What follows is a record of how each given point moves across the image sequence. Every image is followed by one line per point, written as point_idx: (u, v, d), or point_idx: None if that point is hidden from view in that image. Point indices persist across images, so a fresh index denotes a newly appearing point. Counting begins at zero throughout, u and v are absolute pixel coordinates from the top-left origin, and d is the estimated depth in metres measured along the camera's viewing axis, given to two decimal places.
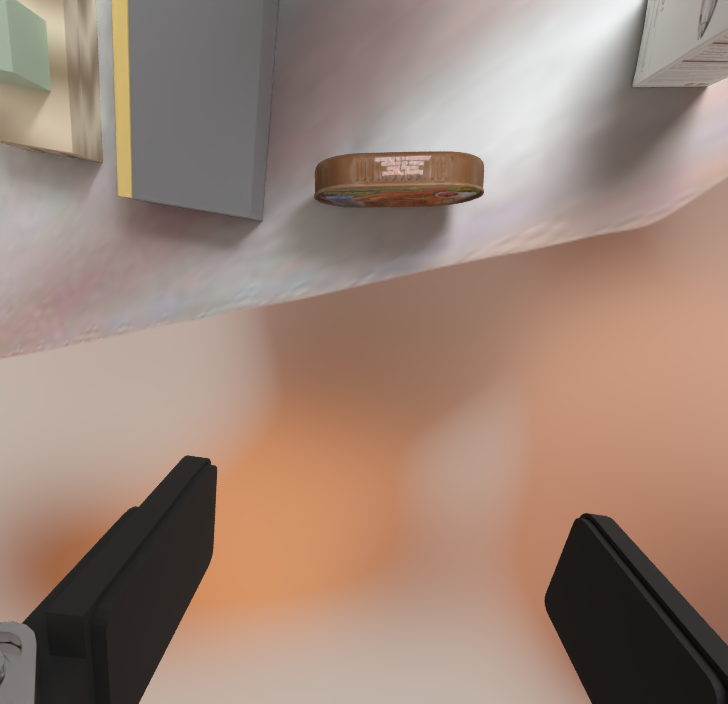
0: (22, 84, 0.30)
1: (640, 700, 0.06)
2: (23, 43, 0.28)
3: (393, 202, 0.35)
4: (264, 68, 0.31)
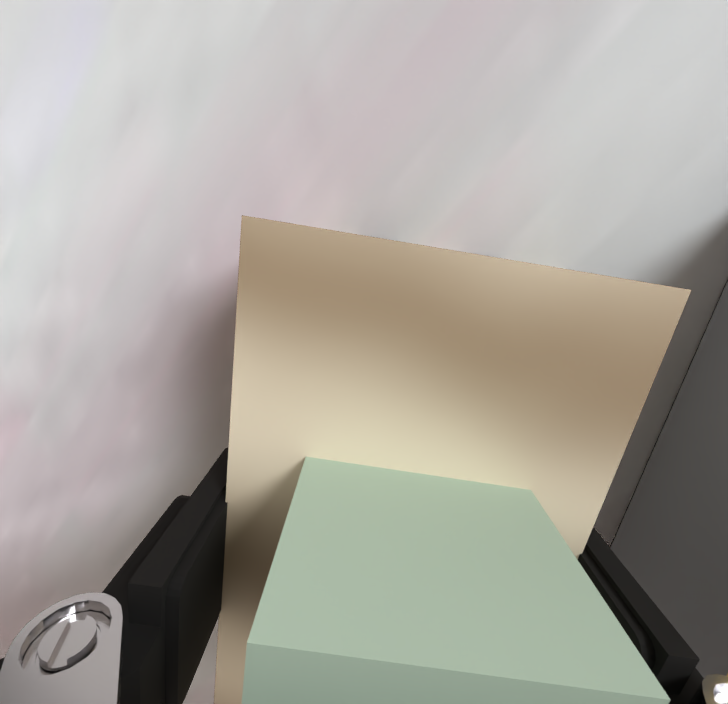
0: None
1: None
2: None
3: None
4: None
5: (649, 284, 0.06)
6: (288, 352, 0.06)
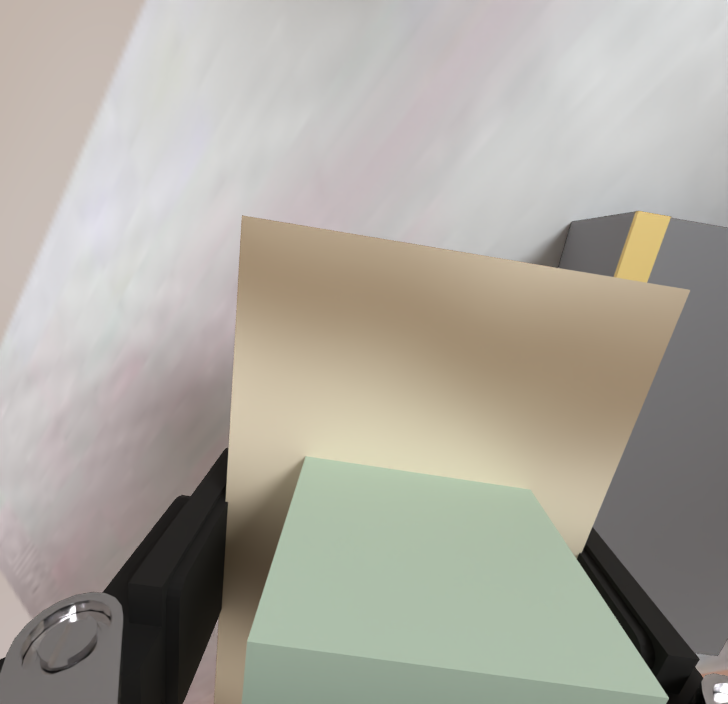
0: None
1: None
2: None
3: None
4: None
5: (648, 284, 0.06)
6: (287, 352, 0.06)
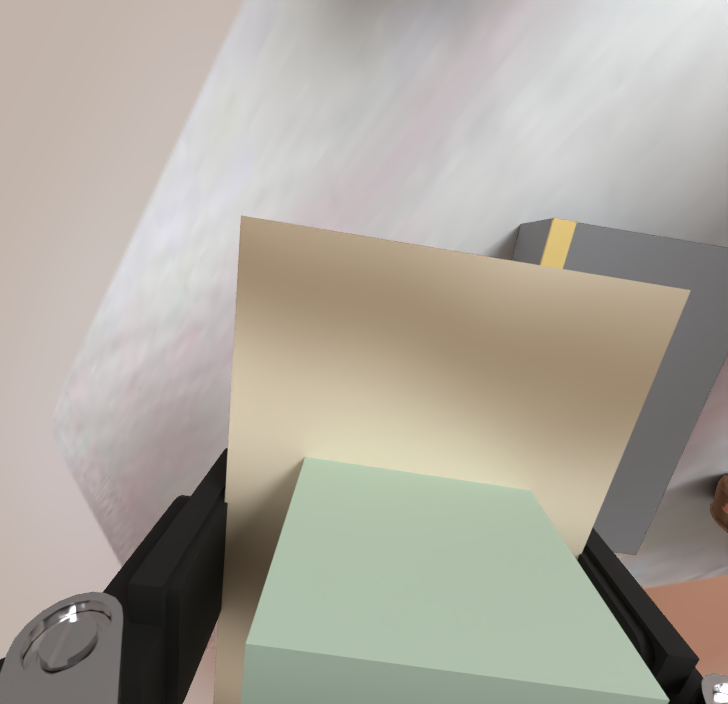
0: None
1: None
2: None
3: None
4: None
5: (648, 284, 0.06)
6: (287, 352, 0.06)
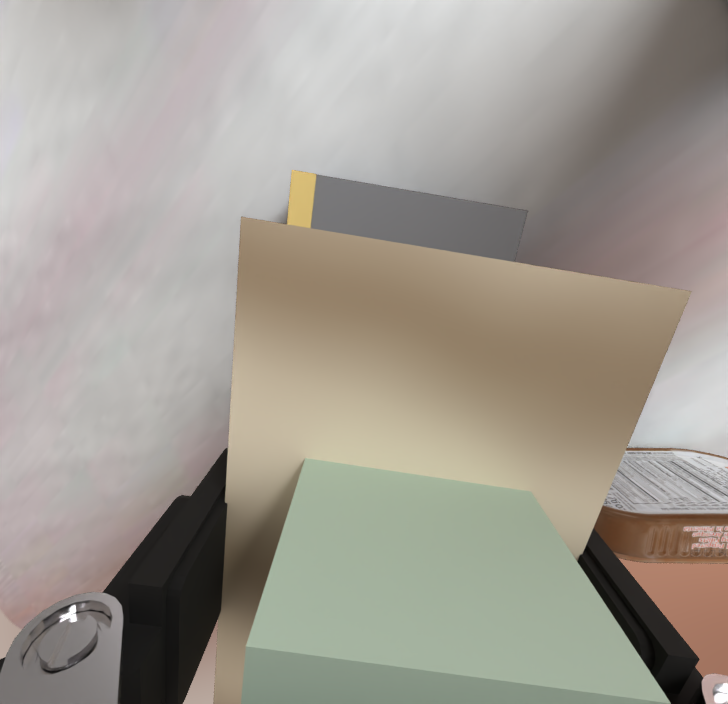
0: None
1: None
2: None
3: None
4: None
5: (649, 285, 0.06)
6: (287, 353, 0.06)
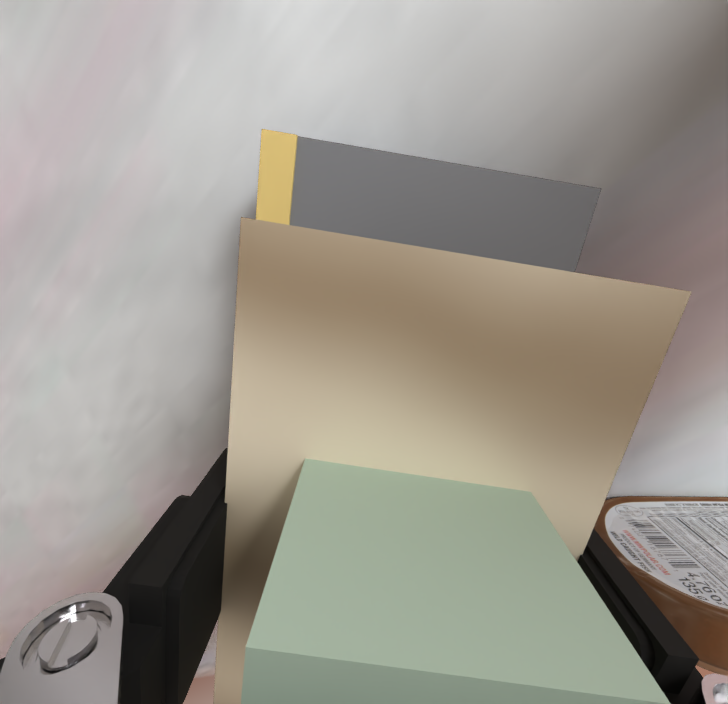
0: None
1: None
2: None
3: None
4: None
5: (649, 286, 0.06)
6: (287, 353, 0.06)
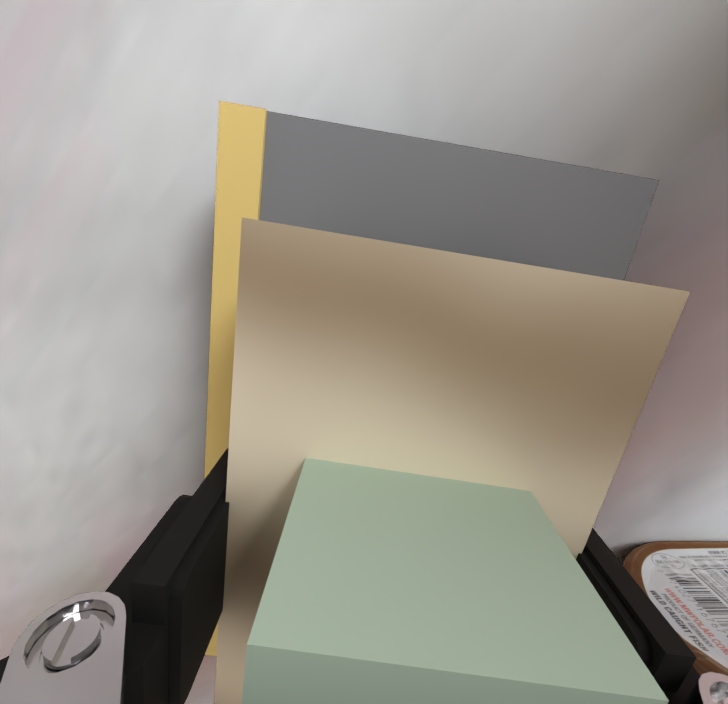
0: None
1: None
2: None
3: None
4: None
5: (648, 286, 0.06)
6: (288, 353, 0.06)
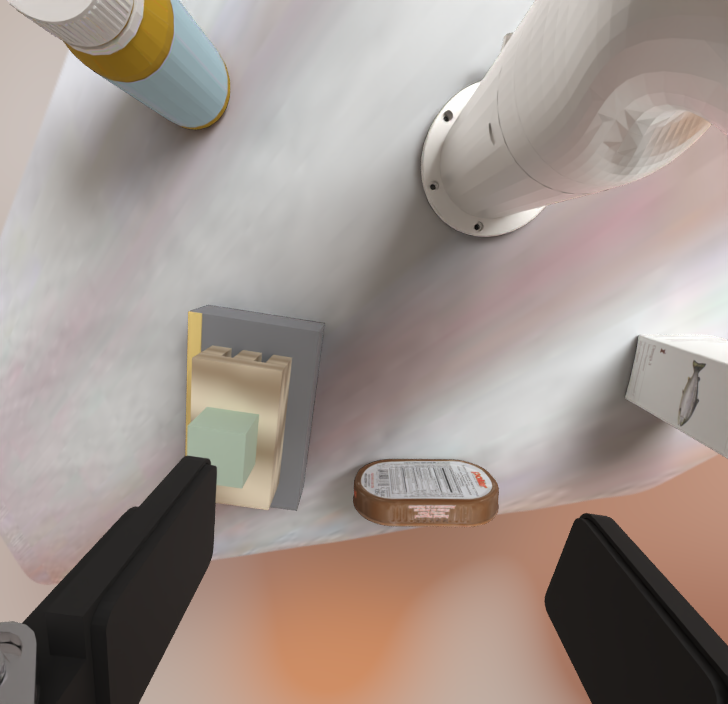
0: None
1: (640, 700, 0.06)
2: (248, 455, 0.29)
3: None
4: (312, 401, 0.36)
5: (274, 370, 0.29)
6: (202, 383, 0.30)
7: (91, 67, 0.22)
